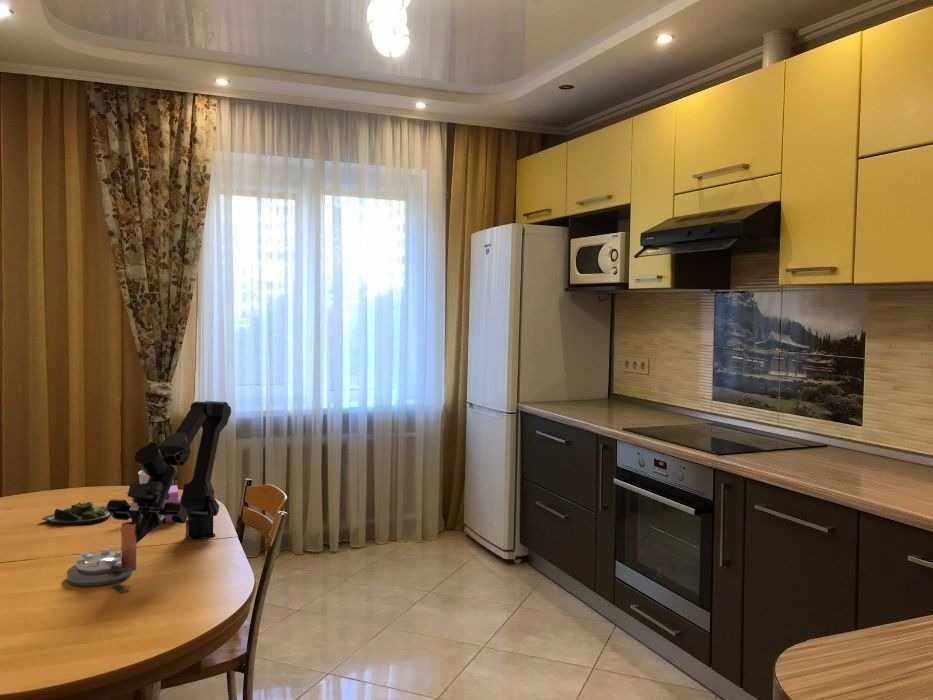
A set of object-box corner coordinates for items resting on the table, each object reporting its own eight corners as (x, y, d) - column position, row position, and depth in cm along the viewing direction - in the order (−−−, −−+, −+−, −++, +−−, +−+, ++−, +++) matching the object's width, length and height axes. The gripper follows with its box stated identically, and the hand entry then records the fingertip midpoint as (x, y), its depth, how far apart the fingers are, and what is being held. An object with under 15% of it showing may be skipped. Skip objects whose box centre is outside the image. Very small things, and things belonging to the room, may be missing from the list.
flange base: (124, 561, 181) (124, 554, 181) (147, 587, 165) (147, 579, 165) (61, 573, 172) (61, 565, 172) (80, 602, 156) (79, 593, 156)
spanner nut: (66, 570, 168) (66, 521, 168) (101, 557, 178) (101, 511, 177) (116, 580, 163) (116, 530, 162) (150, 566, 172) (150, 519, 172)
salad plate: (59, 509, 226) (59, 495, 226) (120, 507, 230) (120, 493, 230) (37, 528, 207) (36, 512, 207) (103, 525, 211) (103, 510, 211)
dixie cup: (146, 497, 242) (146, 468, 241) (169, 498, 241) (170, 469, 241) (132, 503, 234) (132, 473, 233) (156, 504, 233) (156, 474, 232)
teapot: (155, 529, 207) (155, 493, 207) (122, 523, 213) (122, 487, 212) (194, 516, 221) (195, 482, 221) (163, 510, 227) (163, 477, 226)
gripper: (109, 467, 175) (81, 524, 164) (182, 470, 173) (158, 528, 163) (128, 490, 183) (102, 546, 173) (197, 494, 181) (175, 551, 171)
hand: (133, 542), depth 170 cm, fingers closed, pressing on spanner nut
